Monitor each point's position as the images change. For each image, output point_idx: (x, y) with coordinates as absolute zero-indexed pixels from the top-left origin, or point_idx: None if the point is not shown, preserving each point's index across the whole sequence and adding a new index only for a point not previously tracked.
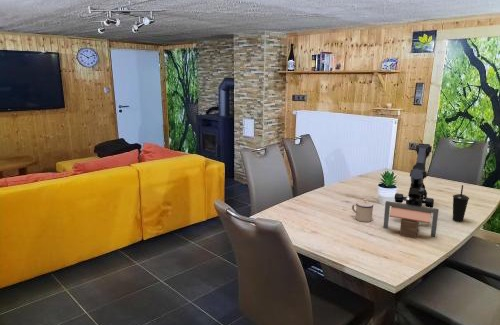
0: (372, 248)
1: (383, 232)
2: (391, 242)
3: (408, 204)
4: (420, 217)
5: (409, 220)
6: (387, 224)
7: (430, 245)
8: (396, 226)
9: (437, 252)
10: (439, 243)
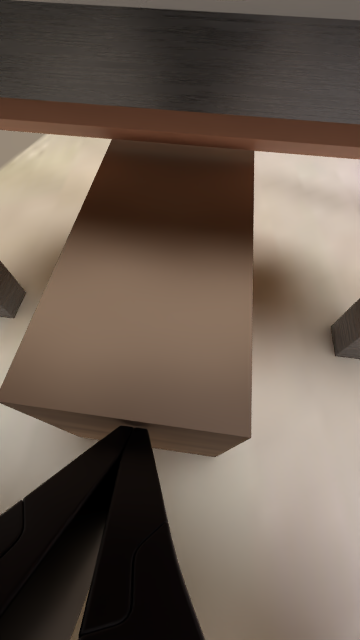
0: None
1: (332, 257)
2: (258, 168)
3: (230, 13)
4: None
5: (178, 158)
6: (352, 308)
7: (66, 192)
8: (274, 402)
9: (54, 148)
10: (4, 224)
